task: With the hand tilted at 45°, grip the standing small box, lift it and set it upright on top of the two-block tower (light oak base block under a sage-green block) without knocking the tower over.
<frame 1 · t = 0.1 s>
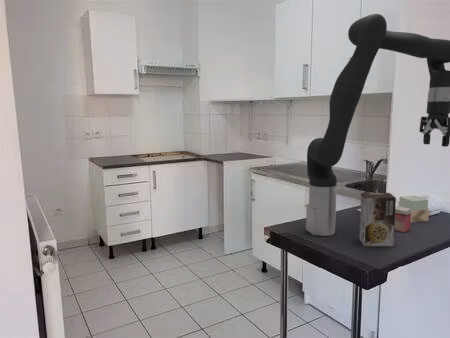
hand: (435, 145, 131), 29 cm above the countertop, tool pointing down, fingers open, 8 cm apart
cookie box: (375, 243, 115), on the countertop
sage top block: (412, 208, 139), point 4 cm above the countertop, touching oak base block
small box: (400, 230, 127), on the countertop
oak base block: (412, 219, 140), on the countertop, touching sage top block
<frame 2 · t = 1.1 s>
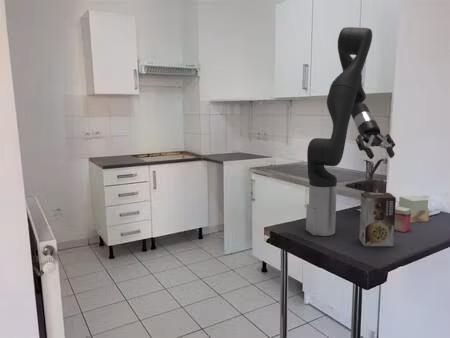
hand: (382, 157, 135), 25 cm above the countertop, tool tilted 45°, fingers open, 8 cm apart
nothing on the countertop moved.
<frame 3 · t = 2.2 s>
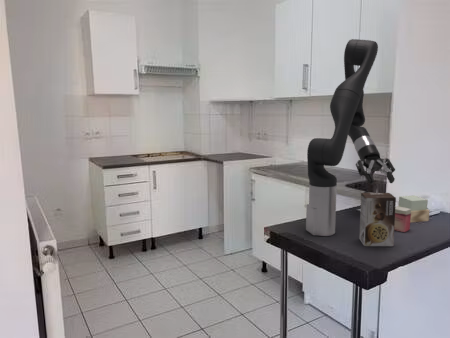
hand: (382, 182, 136), 15 cm above the countertop, tool tilted 45°, fingers open, 8 cm apart
nothing on the countertop moved.
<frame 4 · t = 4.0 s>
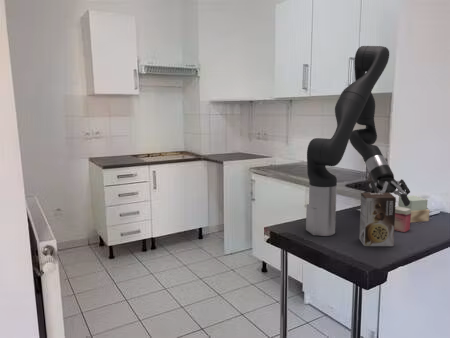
hand: (397, 206, 128), 8 cm above the countertop, tool tilted 45°, fingers open, 8 cm apart
nothing on the countertop moved.
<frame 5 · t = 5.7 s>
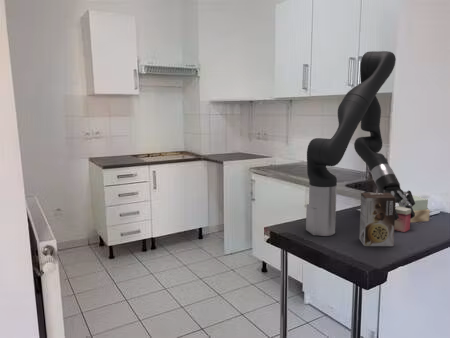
hand: (404, 218, 125), 5 cm above the countertop, tool tilted 45°, fingers closed on small box, 5 cm apart
small box: (400, 230, 127), on the countertop, touching gripper
everything else where it was.
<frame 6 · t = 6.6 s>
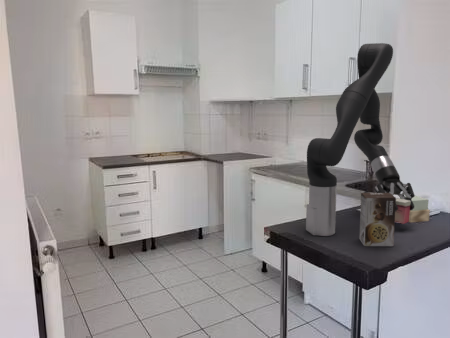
hand: (404, 209, 124), 8 cm above the countertop, tool tilted 45°, fingers closed on small box, 5 cm apart
small box: (399, 222, 127), point 3 cm above the countertop, touching gripper
everything else where it was.
when the fingers open (15 cm above the countertop, at t = 10.4 s): small box drops 1 cm, resting on sage top block.
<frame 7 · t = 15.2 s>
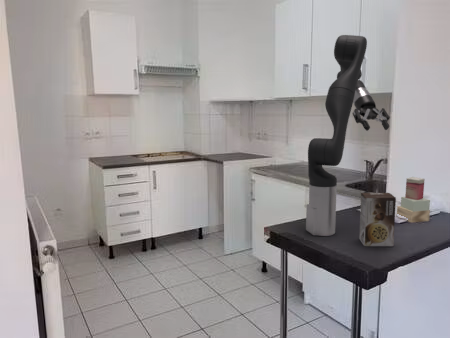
hand: (377, 129, 143), 35 cm above the countertop, tool tilted 45°, fingers open, 8 cm apart
sage top block: (414, 208, 138), point 4 cm above the countertop, touching oak base block, small box
small box: (414, 198, 138), point 8 cm above the countertop, touching sage top block
everything else where it was.
at the end: small box 0.2 cm off-centre on the oak base block, point 8.3 cm above the oak base block's base; small box tilted 1°; sage top block moved 0.8 cm from its start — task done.
